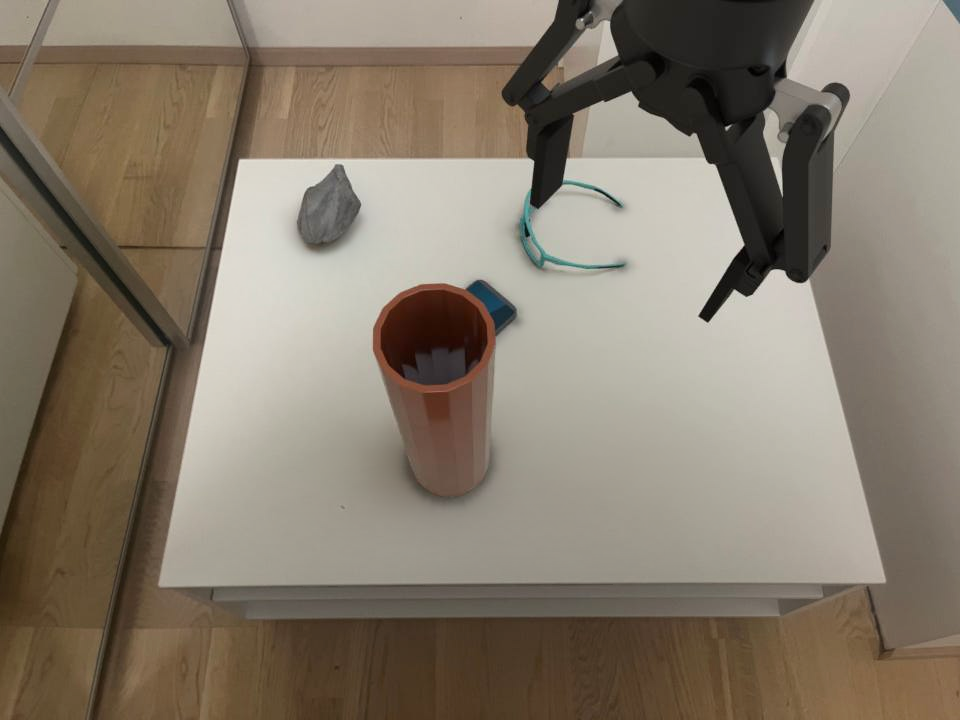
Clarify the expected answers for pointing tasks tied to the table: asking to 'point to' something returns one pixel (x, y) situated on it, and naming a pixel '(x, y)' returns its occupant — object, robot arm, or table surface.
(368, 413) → the table surface
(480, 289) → the smartphone
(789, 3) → the robot arm
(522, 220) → the sunglasses
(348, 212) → the grey rock
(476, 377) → the tall brown vase
